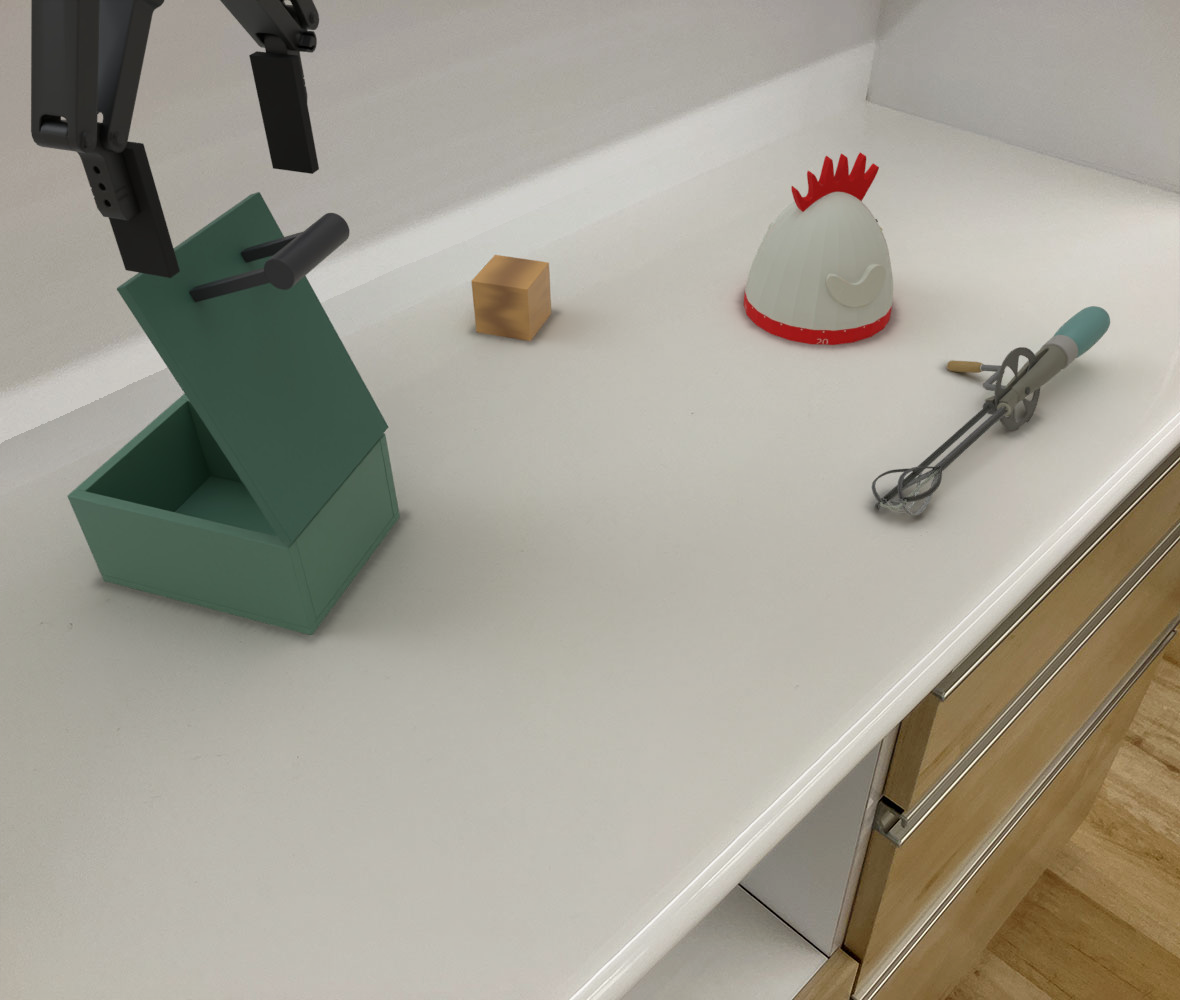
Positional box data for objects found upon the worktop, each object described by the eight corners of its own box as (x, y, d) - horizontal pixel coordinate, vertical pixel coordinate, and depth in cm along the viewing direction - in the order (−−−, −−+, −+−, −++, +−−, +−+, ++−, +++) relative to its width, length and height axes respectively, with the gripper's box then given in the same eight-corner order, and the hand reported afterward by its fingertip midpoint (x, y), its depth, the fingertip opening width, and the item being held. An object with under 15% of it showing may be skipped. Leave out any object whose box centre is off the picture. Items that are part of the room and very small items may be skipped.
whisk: (807, 525, 83) (787, 453, 80) (1015, 346, 98) (1004, 280, 96) (923, 550, 75) (905, 471, 72) (1130, 351, 90) (1122, 279, 87)
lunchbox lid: (115, 288, 55) (229, 255, 51) (250, 194, 64) (355, 159, 60) (282, 543, 64) (390, 532, 60) (380, 428, 73) (479, 412, 69)
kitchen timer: (918, 330, 97) (951, 174, 88) (785, 358, 94) (804, 198, 84) (842, 265, 108) (864, 119, 98) (720, 288, 104) (730, 139, 95)
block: (476, 333, 98) (471, 280, 95) (499, 306, 102) (494, 254, 99) (530, 342, 97) (527, 289, 93) (551, 314, 101) (549, 262, 97)
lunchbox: (104, 582, 73) (66, 495, 68) (210, 476, 82) (184, 393, 77) (312, 637, 69) (288, 548, 64) (400, 518, 78) (385, 433, 73)
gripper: (-42, -229, 34) (143, 338, 47) (341, -280, 52) (396, 141, 66) (-215, -234, 36) (10, 313, 49) (212, -281, 54) (291, 128, 68)
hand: (230, 216), depth 58 cm, fingers open, 13 cm apart
